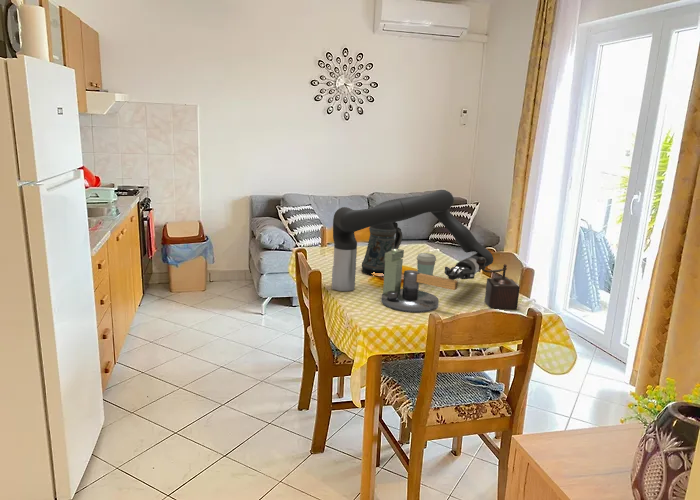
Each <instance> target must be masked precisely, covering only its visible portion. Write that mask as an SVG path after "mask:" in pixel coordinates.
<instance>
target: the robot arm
mask: <svg viewBox="0 0 700 500" xmlns="http://www.w3.org/2000/svg"><path fill="white" fill-rule="evenodd" d="M454 199H455V197H454V196H453V194H452V193H451V191H448V190H445V189H438V190H436V191H434V192H430V193H426V194H422V195H416V196H408V197H401V198H395V199H394V198H393V199H390V200H385V201H383V202H381V203H379V204H377V205H375V206H373V207H370V208H364V209H363V208H362V209H351V208H349V207H345V206H344V207H339V208H338V209H337V210H336V211H335V213H334V214H333V218H332V239H333V261H332V262H333V264H332V271H331V272H332V274H331V290H334V291H335V290H336V291H339V292H349V291H350V292H351V291H354V290H355V288H356V286H355V285H356V273H357V272H356V271H357V255H358V254H357V252H358V251H357V250H358V241H357V239H356V236H355V232H358V231H361V230H365V229H366V228H370V227H371V226H375V225H381V224H387V223H393V222H396V223H397V222H401V221H405V220H409V219H412V218H415V217H418V216H420V215H423V214H426V213H431V214H432V215H433V216H434V217H435V218H436V219H437V220H438V221H439V222H440V223H441V224H442V225H443V226H444V227H445V229H447V231H448V232H449V233H450V234H451V235H452V237H453V239H454V240H455V241H456V242H457V244H458V245H459V246H460V248H461V250H462V251H464V253H466V254H467V253H471V252H475V254H473V255H470V256H468V257H466V258H464V259H462V260H460V261H458V262H457V263H456V264H455V265H454V266H452V267H451V268H450V267H448V266H445V267H444V274H445V275H446V276H447V277H448V278H447V279H451V280H458V279H459V280H473V279H475V275H476V274H477V273H478V272H479V271H482V270H481V269H479V265H478V264H477V263H476V260H477V258H479V257H484V258H485V259H486V263H485V267H486V268H487V267H488V266H490V265H492V264H493V262H494V257H493V256H494V255H493V254H492V252H490V250H489V249H488V248H486V247H485V246H484V245H482V244H481V243H480V242H479V241H478V240H477V239H476V237H475V236H474V234H473V233H472V232H471V230H470V229H469V228H468V227H467V226H466V225H464V224H463V223H462V222H461V221H459V220H458V219H457V218H456V217H455V216H454V215H453V214H452V213H451V211H450V209H451V208H452V207H453V205H454V201H455V200H454Z"/></svg>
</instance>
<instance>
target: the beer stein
mask: <svg viewBox="0 0 700 500" xmlns="http://www.w3.org/2000/svg"><path fill="white" fill-rule="evenodd" d="M368 230H369V236H368V237H369V238H368V242H367V247H366V251H365V255H364V258H363V260H362V262H361V269H362V273H363V274H364V275H366V276H367V275H368V276H371V277H374V276H373V275H372V274H371V273H373V272H375V273H383V274H384V271H385V261H384V260H385V253H387V252H390V251H392V249H400V246H401V245H402V241H403V232H402V229H401V228H400V227H398V223H397V222H393V223H387V224H381V225H375V226H371V227H368Z"/></svg>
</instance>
